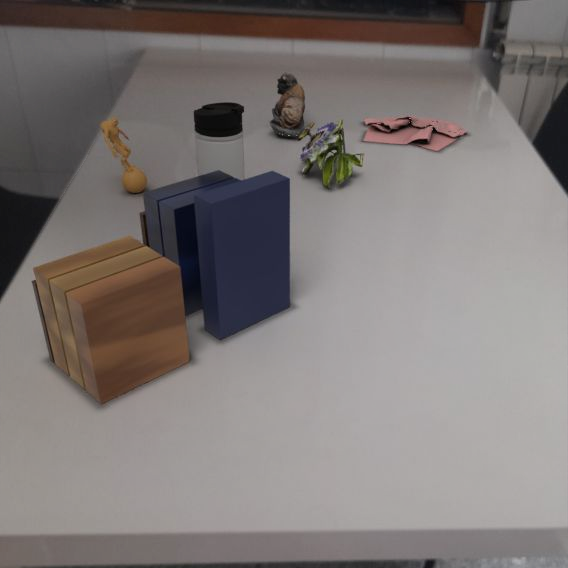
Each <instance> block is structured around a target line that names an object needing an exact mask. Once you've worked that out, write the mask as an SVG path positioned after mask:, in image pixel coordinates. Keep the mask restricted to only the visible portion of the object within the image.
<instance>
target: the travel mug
mask: <svg viewBox="0 0 568 568" xmlns="http://www.w3.org/2000/svg"><path fill="white" fill-rule="evenodd" d="M244 113H245V106H244V105H241V103H238V102H232V101H231V102H229V101H228V102H227V101H226V102H225V101H224V102H222V101H221V102H214V103H208V104H204V105H201V107H200V108H198V109H197V108H196V109H194V110H193V122H194V130H193V131H194V145H195V156H196V157H195V159H196V168H197V169H196V171H197V176H200V175H204V174H207V173H211V172H214V171H217V170H220V171H222V172H224V173H226V174H229V175H231V176H233V177H234V178H237V179H239V180H244V179H246V177H245V176H246V173H245V145H244V143H245V142H244V128H243V114H244Z"/></svg>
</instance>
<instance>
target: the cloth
mask: <svg viewBox="0 0 568 568" xmlns="http://www.w3.org/2000/svg"><path fill="white" fill-rule="evenodd" d="M404 116H405V117H403V116H398V117H399V118H394V117H395V116H392V117H393V118H390V117H391V116H389V117H388V118H384V119H371V118H366V119H363V120H364V121H363V122H364V123H365V126H367V125H368V126H369V127H368V129H367V130H366V133H365V136H364V137H363V142H368V143H369V142H370V143H378V144H390V145H391V144H392V145H408V144H410V145H414V146H418V147H421V148H424V149H427V150H431V151H434V152H439V151H441V150H442V149H444V148H446V147H447V146H449V145H451V144H452V143H454V142H455V141H457V140H459V136H463V135H467V134H468V131H467V129H465V128H464V127H463V126H461V125H459V124H457V125H456V123H454V122H450V121H447V120H442V119H435V118H425V117H420V119H419V120H418V121H416V120H417V119H418V117H419V116H413V115H412V116H411V115H404ZM409 118H411V119H409ZM411 121H412V122H411ZM414 121H416V122H414ZM432 121H434V122H432ZM436 121H438V123H439V124H440V125H439V126H438V129H437V124H438V123H437V122H436ZM409 122H410V123H409ZM413 122H414V123H413ZM377 123H381V124H377ZM427 123H429V124H427ZM425 125H426V127H425ZM443 125H445V127H444V128H443V129H445V130H447V131H445V130H443V129H442V126H443ZM430 126H433V127H430ZM460 126H461V127H460ZM378 127H379V128H378ZM460 128H461V129H462V128H463V130H461V129H460ZM432 129H433V130H432ZM436 129H437V130H436ZM459 129H460V130H459ZM448 131H451V132H448ZM454 132H457V133H454Z"/></svg>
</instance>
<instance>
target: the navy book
mask: <svg viewBox="0 0 568 568" xmlns="http://www.w3.org/2000/svg"><path fill="white" fill-rule="evenodd" d="M194 204H195V216H196V229H197V241H198V253H199V265H200V277H201V290H202V302H203V308H202V311H203V312H202V313H203V314H202V315H203V322H204V323H203V326H204V330H205V331H206V332H207V333H209V334H210V335H211V336H213V337H215V338H216V339H218V340H219V341H222V340H224V339H225V338H228V337H230V336H232V335H235V334H237V333H239V332H241V331H243V330H244V329H247V328H249V327H251V326H254V325H255V324H257V323H260V322H261V321H263V320H266V319H268V318H270V317H272V316H275V315H276V314H278V313H280V312H282V311H284V310H287V309H288V308H290V307H291V178H290V177H288V176H285V175H283V174H282V173H279V172H277V171H275V170H271V171H267V172H264V173H260V174H258V175H254V176H252V177H251V176H250V177H247V178H245V179H244V180H241V181H238V182H235V183H232V184H228V185H225V186H222V187H219V188H216V189H213V190H209V191H206V192H203V193H200V194H197V195H194Z"/></svg>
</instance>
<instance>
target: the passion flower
mask: <svg viewBox="0 0 568 568" xmlns="http://www.w3.org/2000/svg"><path fill="white" fill-rule="evenodd" d="M343 124H344V120H343V119H342V118H340V119H338V121H337V122H336V123H334V121H332V122H330V123H327V124H324V126H322V125H321V127H317V131H316V132H315V134H312V133H311V131H312V128H313V127H314V126H315V122H311V123H309V124H308V125H307V126H306V127H303V129H302V131H301V133H300V134H299V135H298V136H297V142H299V141H301V140H302V139H303V138H305V137H306V136H309V137H310V138H309V140H308V142H307V143H306V144H305V146H302V153H301V154H300V157H299V159H301V160H300V161H301V162H302V164H304V166H303V168H302V171H301V173H302V174H309V173H310V172H311V170H312V168H313V166H314V164H316V163H317V162H318V168H319V169H320V170H322V184H323V186H325V187H327V189H328V190H330V189H331V183H332V181H333V178H334V175H335V173H336V178H335V179H336V181H335V182H336V185H337V186H340V184H342V183H343V182H344V181H347V180H348V179H349V178H350V177H352V174H353V168H354V167H353V165H354V166H355V167H358V168H359V167H360V168H362V167H363V165H364V162H363V161H364V156H365V153H364V152H361V153H353V154H352V153H349V152H346V143H345V130H344V127H343ZM333 151H336V152H333ZM329 153H331V155H329ZM328 155H329V156H328ZM357 156H359V157H357ZM335 166H336V168H337V169H336V171H335Z"/></svg>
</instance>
